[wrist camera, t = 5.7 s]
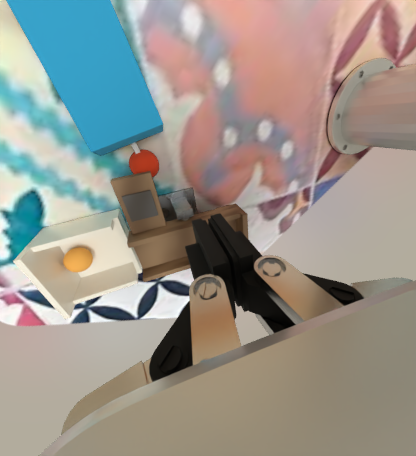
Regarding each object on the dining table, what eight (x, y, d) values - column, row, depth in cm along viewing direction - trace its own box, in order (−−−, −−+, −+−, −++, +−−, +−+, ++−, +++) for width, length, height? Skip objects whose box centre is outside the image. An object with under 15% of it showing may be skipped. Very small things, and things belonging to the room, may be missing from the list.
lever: (37, 22, 19) (127, 189, 24) (-30, -63, 12) (113, 191, 18) (103, 2, 20) (175, 168, 25) (72, -89, 13) (180, 163, 19)
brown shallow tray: (228, 152, 23) (245, 158, 19) (235, 236, 29) (248, 253, 26) (108, 177, 21) (100, 189, 17) (144, 262, 27) (144, 286, 23)
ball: (91, 242, 25) (72, 258, 22) (102, 261, 26) (85, 278, 24) (72, 242, 26) (51, 258, 23) (83, 260, 27) (65, 276, 25)
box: (119, 208, 25) (114, 233, 20) (141, 260, 30) (142, 292, 24) (43, 227, 24) (12, 261, 18) (79, 279, 28) (65, 319, 23)
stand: (192, 187, 27) (203, 200, 23) (202, 242, 32) (213, 262, 28) (157, 195, 26) (162, 211, 22) (174, 251, 31) (180, 273, 27)
